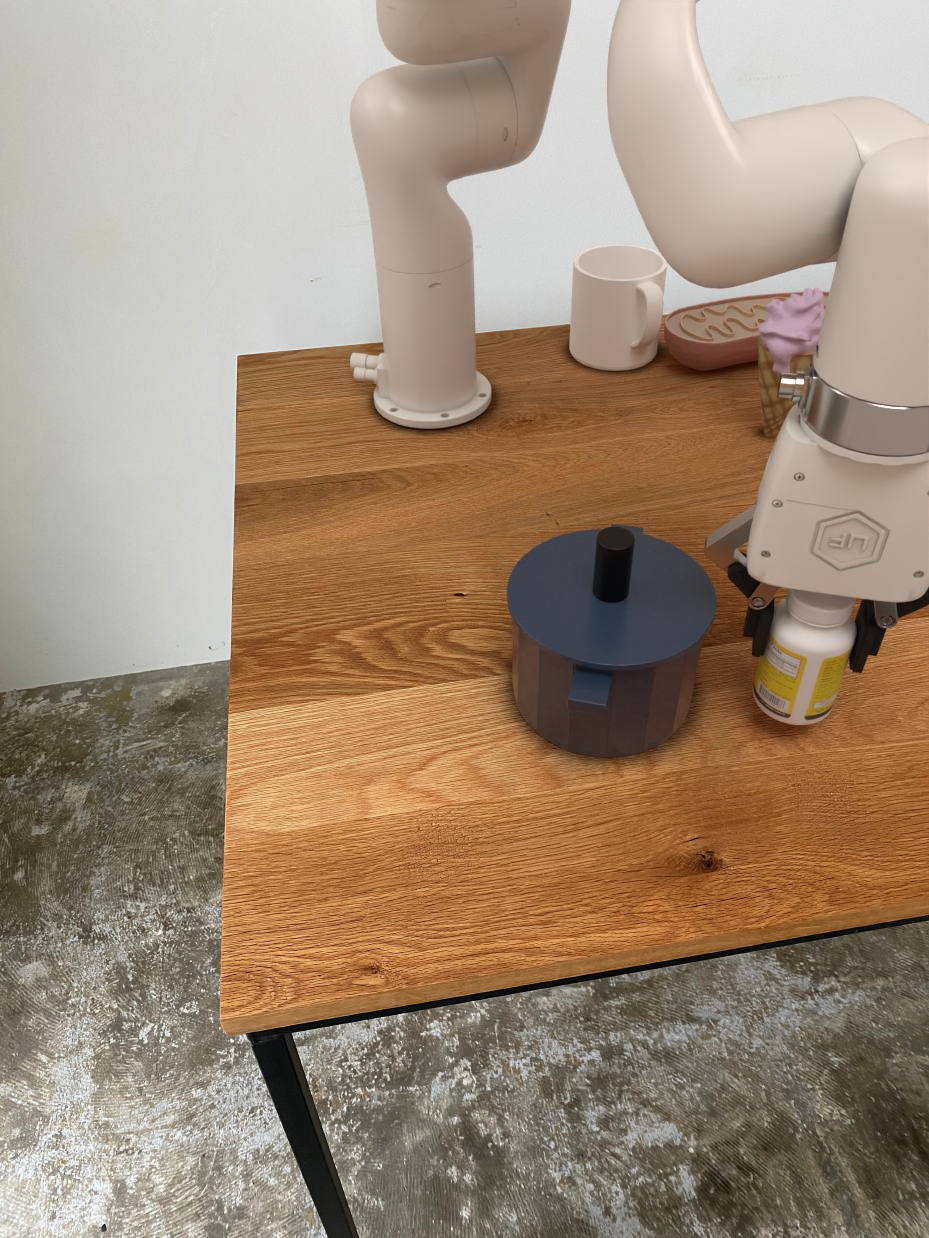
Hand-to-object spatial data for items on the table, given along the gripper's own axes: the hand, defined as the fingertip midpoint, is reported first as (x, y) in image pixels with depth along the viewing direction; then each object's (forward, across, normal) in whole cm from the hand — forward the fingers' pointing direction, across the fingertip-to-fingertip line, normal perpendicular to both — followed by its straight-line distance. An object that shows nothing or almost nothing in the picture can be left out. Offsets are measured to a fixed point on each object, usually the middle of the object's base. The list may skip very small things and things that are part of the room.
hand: (806, 648), depth 61 cm
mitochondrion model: (+7, -4, +55) cm, 55 cm away
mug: (+7, -19, +52) cm, 56 cm away
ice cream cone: (+7, -2, +38) cm, 39 cm away
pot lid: (-2, -13, 0) cm, 13 cm away
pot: (+7, -13, 0) cm, 15 cm away
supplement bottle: (+5, 0, 0) cm, 5 cm away
